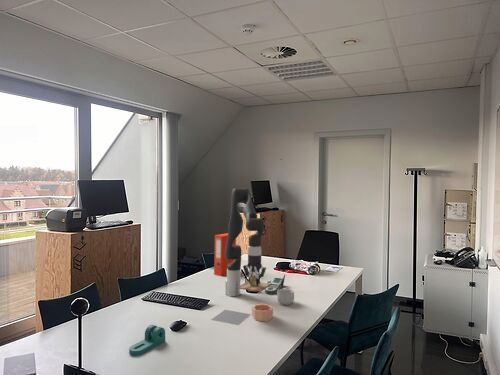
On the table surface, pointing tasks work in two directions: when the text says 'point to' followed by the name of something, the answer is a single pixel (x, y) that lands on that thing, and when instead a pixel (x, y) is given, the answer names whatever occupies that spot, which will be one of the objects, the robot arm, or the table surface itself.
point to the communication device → (274, 285)
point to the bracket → (148, 340)
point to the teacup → (285, 296)
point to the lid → (253, 285)
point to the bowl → (262, 312)
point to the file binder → (221, 255)
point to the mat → (231, 317)
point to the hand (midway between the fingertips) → (254, 284)
